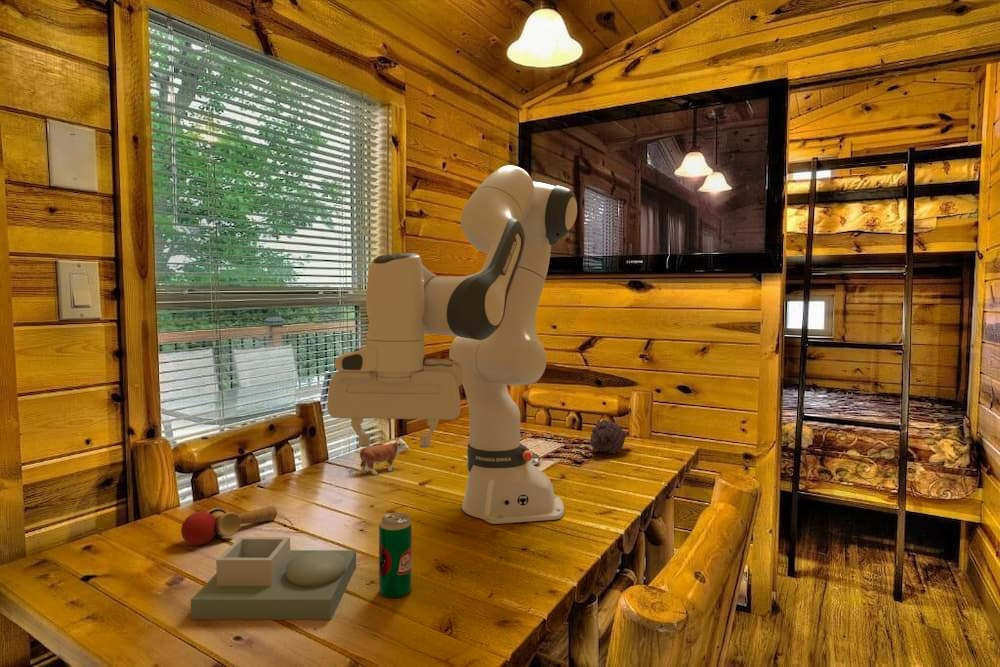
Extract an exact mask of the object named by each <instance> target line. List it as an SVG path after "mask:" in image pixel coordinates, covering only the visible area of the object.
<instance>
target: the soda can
mask: <svg viewBox="0 0 1000 667" xmlns="http://www.w3.org/2000/svg"><path fill="white" fill-rule="evenodd" d="M412 524H413V523H412V522H411V520H410V516H409V515H408V513H403V512H391V513H387V514H384V515H382V517H381V519H380V522H379V524H378V591H379V592H380V594H382V596H384V597H386V598H390V599H398V598H403V597H404V596H406V595H408V594H409V592H410V591H411V590H412V585H413V584H412V582H413V581H412V573H413V572H412V561H413V560H412V558H413V557H412V554H413V553H412V552H413V551H412V550H413V549H412V547H413V545H412V544H413V543H412V536H413V535H412V527H413V526H412Z"/></svg>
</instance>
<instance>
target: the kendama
mask: <svg viewBox="0 0 1000 667" xmlns="http://www.w3.org/2000/svg"><path fill="white" fill-rule="evenodd" d="M277 515H278V514H277V508H276V507H275V505H270V506H266V507H262V508H257V509H254V510H249V511H246V512H243V513H242V512H241V513H240V514H237V513H235V512H233V511H229V512H227V511H225V509H222V508H218V507H217V508H216V507H213V508H211V509H209V510H207V511H197V512H194V513H192V514H190V515H188V516H187V517H186V518H185V519H184V521H183V522H182V525H181V528H180V529H181V531H180V533H181V536H182V539H183V540H184V542H186V544H188V545H190V546H193V547H197V546H202V545H205V544H206V543H209V542H210V541H211V540H212V539H214V538H215V537H217V536H218V535H220V536H222V537H228V538H229V537H232V536H234V535H235V534H237V533H238V531H239V530H240V528H241V525H245V524H254V523H262V522H271V521H275V520H276V518H277Z"/></svg>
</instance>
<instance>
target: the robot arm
mask: <svg viewBox="0 0 1000 667" xmlns="http://www.w3.org/2000/svg"><path fill="white" fill-rule="evenodd" d="M577 215H578V200H577V196H576V195H575V193H574V191H573V190H571V189H569V188H567V187H565V186H561V185H558V184H556V185H552V184H547V183H544V182H539V181H533V179H532V177H531V175H529V173H528V172H527V171H526V170H525V169H523V168H521V167H519V166H516V165H504V166H501V167H499V168H497V169H496V170H495V171H494V172H492V173H490V175H489V176H488V177H486V178H485V179H484V180H483V181H482V182H481V183H480V185H479V186H478V187H477V188H476V189H475V191H474V192H473V193H472V194H471V196H470V197H469V199H468V200H467V201H466V203H465V204H464V205H463V208H462V210H461V215H460V217H459V218H460V226H461V230H462V233H463V235H464V237H465V239H466V240H467V241H468V243H469V244H470V245H472V246H473V247H474V248H475V249H476V250H478V251H480V252H481V253H483V254H485V255H486V254H487V255H486V258H485V260H484V263H483V264H482V268H481V269H480V270H479V271H478V272H475V273H472V274H468V275H464V276H463V275H461V276H442V275H441V276H438V275H437V274H435V273H433V272H432V271H430V270H429V269H428V268H426V267H425V265H424V264H423V262H422V258H421V256H420V255H419V254H418V253H415V252H398V253H397V252H396V253H387V254H386V253H385V254H382V255H379V256H376V257H375V258H374V259H372V260H371V263H370V265H369V268H368V273H367V281H366V295H365V296H366V298H365V300H366V302H365V305H366V309H365V310H366V315H367V318H368V329H367V332H366V338H365V342H366V343H365V344H366V345H365V347H363V348H362V347H360V348H356V349H354V350H353V351H350V352H346V353H342V354H341V355H339V356H337V357H336V358H335V359H334V367H335V370H336V372H335V373H334V374H333V375H332V376H331V379H330V381H329V385H328V392H327V393H328V394H327V406H326V407H327V413H328V414H329V415H330V417H331V418H333V419H334V418H335V419H351V421H350V422H351V428H352V429H353V431H354V432H355V434H356V436H358V447H360V448H367V447H371V446H370V445H371V433H368V432H367V433H366V432H365V430H364V428H363V427H362V425H361V424H362V423H364V419H376V420H377V419H381V420H382V419H383V420H384V419H387V420H389V419H391V420H392V419H393V420H394V419H395V420H396V419H397V420H427V426H428V427H429V429H428V431H427V432H426V433H421V434H420V437H419V441H420V444H419V448H423V449H424V448H425V449H426V448H427V449H428V448H431V442H432V439H431V438H432V435H433V433H434V431H435V430H436V428H437V426H438V423H439V420H456V419H457V417H458V416H460V414H461V396H460V386H461V385H463V386H462V387H463V390H464V394H465V396H466V401H467V405H468V413H469V443H468V445H467V450H466V467H467V471H468V473H467V481H466V488H465V493H464V498H463V500H462V504H461V510H462V511H463V512H464V513H465V514H467V515H469V516H472V517H474V518H478V519H481V520H483V521H485V522H487V523H488V524H492V525H499V524H513V523H524V522H525V523H526V522H527V523H528V522H538V521H539V522H541V521H552V520H553V521H554V520H559V519H561V518H562V517H563V516H564V514H565V505H564V502H563V500H562V498H561V497H559V496H557V494H555V493H554V486H553V484H552V481H551V479H550V478H549V476H548V475H547V474H546V473H544V472H543V471H542V470H541V469H539V468H538V467H537V466H535V465H534V464H532V463H531V461H532V459H533V453H532V452H531V450H530V449H529V448H528V447H527V445H526V444H524V445H523V444H522V443H521V412H520V408H519V406H518V404H517V403H516V402H515V401H514V399H513V398H512V396H511V394H510V393H509V389H508V386H511V387H512V386H513V387H517V386H527V385H532V384H535V383H537V382H538V381H539V380H540V379H541V377H542V376H543V374H544V373H545V370H546V367H547V352H546V350H545V347H544V346H543V344H542V343H541V341H540V339H539V337H538V332H537V324H536V323H537V313H538V312H537V311H538V307H539V303H540V300H541V296H542V293H543V289H544V286H545V282H546V279H547V275H548V270H549V265H550V259H551V252H552V250H551V248H552V246H553V245H556V244H557V243H558V242H559V240H561V239H563V238H565V237H566V236H567V235H568V234H569V233H570V231H571V230H573V227H574V225H575V222H576V220H577ZM425 334H429V335H436V336H447V337H448V336H451V337H454V339H453V340H452V342H451V344H450V348H449V352H448V354H449V355H448V358H444V359H439V358H426V357H425Z"/></svg>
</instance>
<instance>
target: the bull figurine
mask: <svg viewBox="0 0 1000 667" xmlns="http://www.w3.org/2000/svg"><path fill="white" fill-rule="evenodd" d="M408 450H409V446H408V445H407V443H406V442H405V441H404V440H403V439H402V438H399V439H398V440H394V439H393V440H390V441H389V442H385V443H383V444H380V445H374V446H369V447H362V449H361V450H360V452H359V458H360V460H361V463H360V468H361V473H362V474H363V475H364V474H366V475H367V472H369V471H371V473H372V474H373V475H378V474H379V473H378V472H377V470H376V469H375V468H374V463H375V464H376V465H377V466H379V465H380V463H383V462H387V465H388V467H387V471H388V472H393V470H392V469H393V468H394V467H393V462H394V460H395V459H396V458H397V457H398V455H399V454H400V453H401V452H403V451H408Z"/></svg>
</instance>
